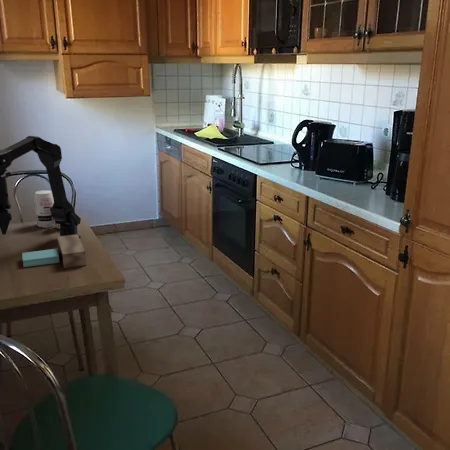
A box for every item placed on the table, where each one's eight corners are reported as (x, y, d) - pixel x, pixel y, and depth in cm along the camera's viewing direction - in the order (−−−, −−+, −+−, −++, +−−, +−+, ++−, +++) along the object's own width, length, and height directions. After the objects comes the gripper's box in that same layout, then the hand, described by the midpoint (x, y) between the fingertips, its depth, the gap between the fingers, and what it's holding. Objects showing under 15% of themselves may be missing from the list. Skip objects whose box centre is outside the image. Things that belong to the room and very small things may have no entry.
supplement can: (49, 221, 231) (45, 188, 227) (60, 224, 227) (57, 191, 222) (33, 225, 225) (29, 192, 221) (45, 229, 221) (41, 195, 216)
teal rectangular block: (23, 267, 180) (22, 260, 180) (22, 259, 187) (21, 252, 187) (59, 262, 185) (58, 256, 184) (57, 255, 192) (56, 248, 191)
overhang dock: (64, 268, 180) (62, 254, 178) (58, 249, 197) (57, 236, 196) (86, 265, 183) (85, 251, 181) (78, 247, 200) (77, 234, 199)
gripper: (-27, 186, 179) (-21, 229, 184) (-30, 199, 163) (-23, 245, 167) (7, 183, 183) (13, 225, 188) (8, 196, 167) (14, 241, 172)
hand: (4, 234), depth 179 cm, fingers closed
